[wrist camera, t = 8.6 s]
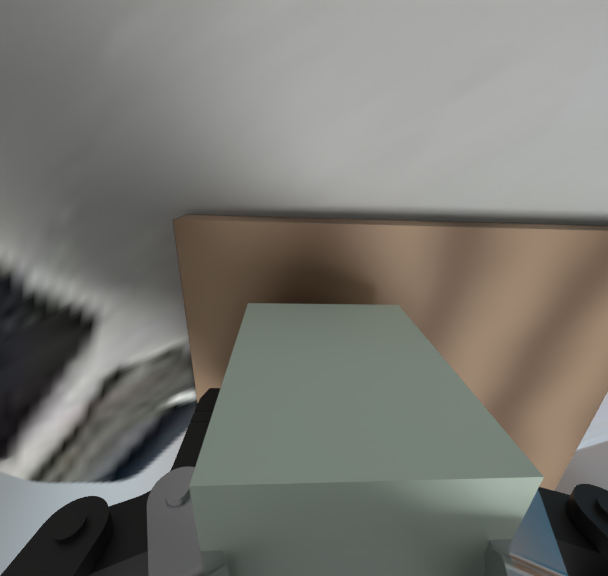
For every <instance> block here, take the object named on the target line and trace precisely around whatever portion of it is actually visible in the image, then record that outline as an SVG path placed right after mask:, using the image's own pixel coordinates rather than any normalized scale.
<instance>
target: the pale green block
mask: <svg viewBox="0 0 608 576" xmlns="http://www.w3.org/2000/svg"><path fill="white" fill-rule="evenodd" d="M543 478H544V476H543V475H542V474H541V473H540V472H539V470H538V469H537V468H536V467H535V466H534V465H533V463H532V462H531V461H530V460H529V459H528V457H527V456H526V455H525V454H524V453H523V452H522V450H521V449H520V448H519V447H518V446H517V444H516V443H515V442H514V441H513V440H512V439H511V437H510V436H509V435H508V434H507V433H506V431H505V430H504V429H503V428H502V427H501V425H500V424H499V423H498V422H497V421H496V420H495V418H494V417H493V416H492V415H491V414H490V412H489V411H488V410H487V409H486V408H485V407H484V405H483V404H482V403H481V402H480V401H479V399H478V398H477V397H476V396H475V395H474V394H473V392H472V391H471V390H470V389H469V388H468V386H467V385H466V384H465V383H464V382H463V380H462V379H461V378H460V377H459V376H458V375H457V373H456V372H455V371H454V370H453V369H452V367H451V366H450V365H449V364H448V363H447V362H446V360H445V359H444V358H443V357H442V356H441V354H440V353H439V352H438V351H437V350H436V349H435V347H434V346H433V345H432V344H431V343H430V341H429V340H428V339H427V338H426V337H425V336H424V334H423V333H422V332H421V331H420V330H419V328H418V327H417V326H416V325H415V324H414V322H413V321H412V320H411V319H410V318H409V317H408V315H407V314H406V313H405V312H404V311H403V309H402V308H401V307H400V306H399V305H368V304H277V303H248V305H247V308H246V311H245V314H244V317H243V320H242V323H241V326H240V330H239V333H238V336H237V339H236V342H235V345H234V348H233V351H232V354H231V358H230V361H229V364H228V367H227V370H226V373H225V376H224V379H223V382H222V385H221V389H220V392H219V395H218V398H217V401H216V404H215V407H214V410H213V413H212V417H211V420H210V423H209V426H208V429H207V432H206V435H205V438H204V441H203V445H202V448H201V451H200V454H199V457H198V460H197V463H196V466H195V469H194V473H193V476H192V479H191V482H190V485H189V488H190V494H191V500H192V506H193V512H194V518H195V524H196V529H197V535H198V541H199V547H200V551H220V550H222V551H223V556H224V560H225V563H226V565H227V567H228V571H229V575H230V576H484V574H485V557H484V552H485V550H486V548H487V546H488V544H489V542H490V540H501V539H513V537H514V535H515V533H516V531H517V529H518V527H519V525H520V523H521V521H522V519H523V517H524V515H525V513H526V511H527V510H528V508H529V506H530V504H531V502H532V500H533V498H534V496H535V494H536V492H537V490H538V488H539V486H540V484H541V482H542V480H543Z"/></svg>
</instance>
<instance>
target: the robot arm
mask: <svg viewBox="0 0 608 576" xmlns="http://www.w3.org/2000/svg"><path fill="white" fill-rule="evenodd" d="M220 389H221V388H209V389H208V390H207V392H206V393H205V394H204V395H203V396H202V397H201V398H200V399H199V402H198V404H197V407H196V409H195V413H194V414H193V417H192V419H191V423H190V424H189V427H188V429H187V432H186V434H185V437H184V439H183V442H182V444H181V447H180V449H179V452H178V454H177V457H176V460H175V462H174V465H173V466H172V469H171V470H170V472H169V473H167V474H166V475H164V476H163V477H162V478H161V479H160V480H159V481H158V482H157V483H156V484H155V485H154V487H153V488H152V490H151V491H149V492H147V493H145V494H143V495H141V496H139V497H136V498H133V499H130V500H127V501H124V502H121V503H118V504H115V505H112V506H109V507H108V505H107V502H106V501H105V500H104V499H102V498H100V497H97V496H88V497H83V498H80V499H77V500H75V501H72V502H70V503H69V504H67V505H65V506H64V507H62V508H61V509H59V510H58V511H57V512H55V513H54V514H53V515H52V516H51V517H50V518H49V519H48V520H47V521H46V522H45V523H44V524H43V525H42V526H41V528H40V529H39V530H38V531H37V532H36V534H35V535H34V536H33V537H32V538H31V540H30V541H29V542H28V543H27V544H26V546H25V547H24V548H23V549H22V550H21V552H20V553H19V554H18V555H17V556H16V558H15V559H14V560H13V561H12V562H11V564H10V565H9V566H8V567H7V569H6V570H5V571H4V572H3V573H2V574H1V576H230V575H229V571H228V567H227V565H226V563H225V560H224V556H223V551H222V550H220V551H200V547H199V541H198V535H197V529H196V524H195V518H194V512H193V506H192V500H191V494H190V488H189V485H190V482H191V479H192V476H193V473H194V469H195V466H196V463H197V460H198V457H199V454H200V451H201V448H202V445H203V441H204V438H205V435H206V432H207V429H208V426H209V423H210V420H211V417H212V413H213V410H214V407H215V404H216V401H217V398H218V395H219V392H220ZM484 557H485V574H484V576H608V491H607V490H605V489H602V488H600V487H597V486H594V485H590V484H580V485H577V486H576V487H575V488H574V490H573V492H572V494H571V495H567V494H564V493H560V492H556V491H553V490H549V489H546V488H542V487H539V488H538V490H537V492H536V494H535V496H534V498H533V500H532V502H531V504H530V506H529V508H528V510H527V511H526V513H525V515H524V517H523V519H522V521H521V523H520V525H519V527H518V529H517V531H516V533H515V535H514V537H513V539H501V540H490V542H489V544H488V546H487V548H486V550H485V552H484Z"/></svg>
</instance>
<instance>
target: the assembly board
mask: <svg viewBox="0 0 608 576" xmlns="http://www.w3.org/2000/svg"><path fill="white" fill-rule="evenodd" d="M173 225H174V232H175V240H176V247H177V254H178V262H179V269H180V276H181V284H182V291H183V299H184V306H185V313H186V321H187V328H188V335H189V343H190V350H191V358H192V365H193V372H194V380H195V387H196V394H197V402H199V399H200V398H201V397H202V396H203V395H204V394H205V393H206V392H207V390H208V389H209V388H221V385H222V382H223V379H224V376H225V373H226V370H227V367H228V364H229V361H230V358H231V354H232V351H233V348H234V345H235V342H236V339H237V336H238V333H239V330H240V326H241V323H242V320H243V317H244V314H245V311H246V308H247V305H248V303H277V304H368V305H399V306H400V307H401V308H402V309H403V311H404V312H405V313H406V314H407V315H408V317H409V318H410V319H411V320H412V321H413V322H414V324H415V325H416V326H417V327H418V328H419V330H420V331H421V332H422V333H423V334H424V336H425V337H426V338H427V339H428V340H429V341H430V343H431V344H432V345H433V346H434V347H435V349H436V350H437V351H438V352H439V353H440V354H441V356H442V357H443V358H444V359H445V360H446V362H447V363H448V364H449V365H450V366H451V367H452V369H453V370H454V371H455V372H456V373H457V375H458V376H459V377H460V378H461V379H462V380H463V382H464V383H465V384H466V385H467V386H468V388H469V389H470V390H471V391H472V392H473V394H474V395H475V396H476V397H477V398H478V399H479V401H480V402H481V403H482V404H483V405H484V407H485V408H486V409H487V410H488V411H489V412H490V414H491V415H492V416H493V417H494V418H495V420H496V421H497V422H498V423H499V424H500V425H501V427H502V428H503V429H504V430H505V431H506V433H507V434H508V435H509V436H510V437H511V439H512V440H513V441H514V442H515V443H516V444H517V446H518V447H519V448H520V449H521V450H522V452H523V453H524V454H525V455H526V456H527V457H528V459H529V460H530V461H531V462H532V463H533V465H534V466H535V467H536V468H537V469H538V470H539V472H540V473H541V474H542V475H543V476H544V478H543V480H542V482H541V484H540V486H539V487H542V488H546V489H549V490H553V491H554V490H555V488H556V487H557V485H558V483H559V481H560V479H561V477H562V475H563V473H564V472H565V470H566V468H567V466H568V464H569V462H570V461H571V459H572V457H573V455H574V453H575V451H576V449H577V448H578V446H579V444H580V442H581V440H582V438H583V436H584V435H585V433H586V431H587V429H588V427H589V425H590V423H591V422H592V420H593V418H594V416H595V414H596V412H597V410H598V409H599V407H600V405H601V403H602V401H603V399H604V397H605V395H606V394H607V392H608V226H590V225H553V224H516V223H478V222H441V221H404V220H366V219H329V218H291V217H254V216H217V215H184V216H181V217H178V218H176V219H173Z"/></svg>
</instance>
